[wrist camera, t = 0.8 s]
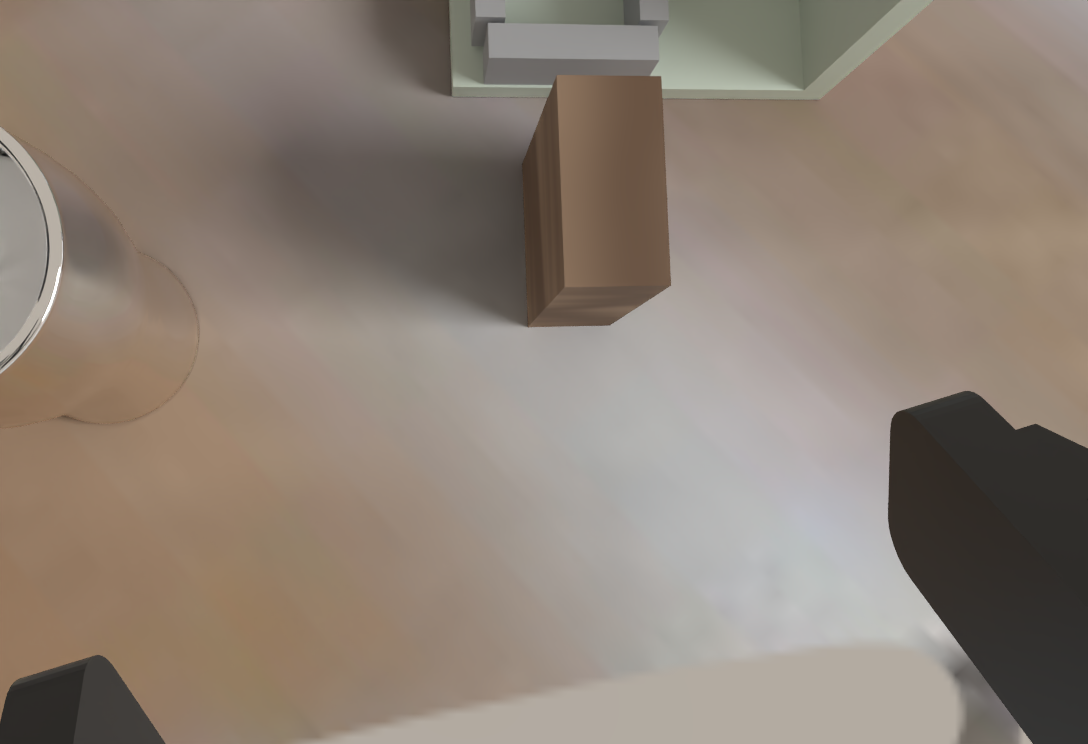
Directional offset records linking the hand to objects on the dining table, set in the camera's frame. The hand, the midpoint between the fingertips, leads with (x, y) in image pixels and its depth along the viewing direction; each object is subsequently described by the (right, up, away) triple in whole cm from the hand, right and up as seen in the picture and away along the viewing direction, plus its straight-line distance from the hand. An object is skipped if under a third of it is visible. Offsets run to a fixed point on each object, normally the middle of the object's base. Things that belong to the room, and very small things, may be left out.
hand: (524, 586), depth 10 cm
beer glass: (-15, +3, +25) cm, 29 cm away
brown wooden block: (+1, +7, +27) cm, 28 cm away
